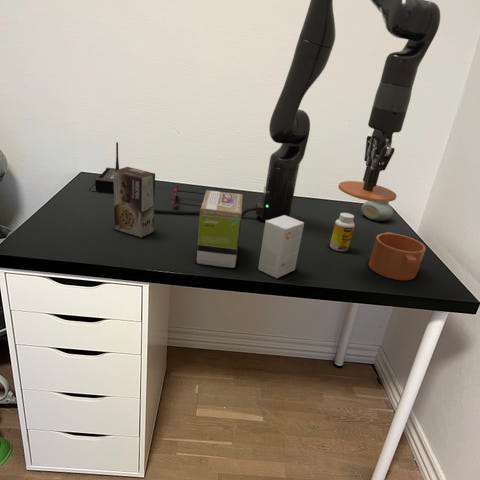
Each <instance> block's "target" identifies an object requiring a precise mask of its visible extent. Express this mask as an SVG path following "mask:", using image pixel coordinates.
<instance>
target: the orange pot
mask: <svg viewBox="0 0 480 480" xmlns="http://www.w3.org/2000/svg"><path fill="white" fill-rule="evenodd" d="M426 248H427V247H426V245H424V243H423V242H421V241H419V240H418V239H416V238H413V237H410V236H407V235H403V234H399V233H394V232H390V231H385V232H384V233H379V234H377V235H376V237H375V240H374V244H373V247H372V250H371V254H370V258H369V261H368V267H369V268H370V269H371V270H372V271H373V273H374V272H375V273H376V274H378V275H380V276H382V277H385V278H388V279H392V280H395V281H411V280H413V279H415V278H416V277H417V275H418V272H419V270H420V267H421V264H422V261H423V258H424V255H425V253H426Z"/></svg>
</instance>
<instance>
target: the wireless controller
mask: <svg viewBox="0 0 480 480" xmlns="http://www.w3.org/2000/svg"><path fill="white" fill-rule="evenodd" d="M119 161H120V160H119V142H115V168H114V167H106V168H105V169H104V171H102V172H101V174H99V176H97V177H96V178H95V179H94V180H95V181H94V186H93V187H92V188H91V189H90V191H91V192H96V193H97V192H98V193H105V194H113V195H114V177H113V171H116V170H119V169H120V164H119Z"/></svg>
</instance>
